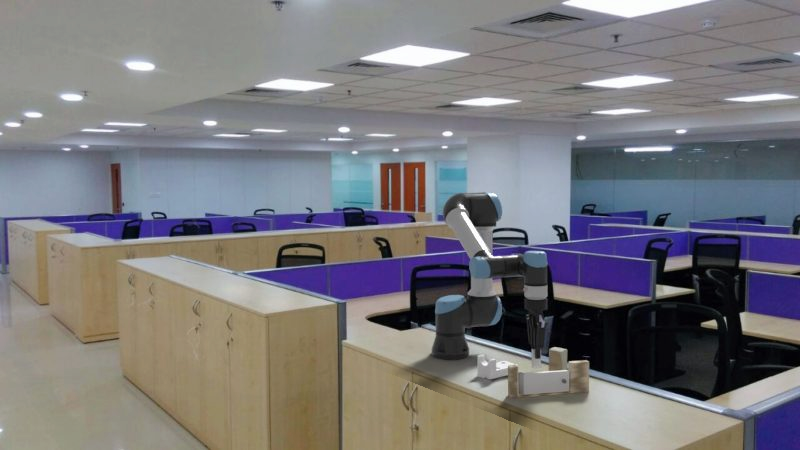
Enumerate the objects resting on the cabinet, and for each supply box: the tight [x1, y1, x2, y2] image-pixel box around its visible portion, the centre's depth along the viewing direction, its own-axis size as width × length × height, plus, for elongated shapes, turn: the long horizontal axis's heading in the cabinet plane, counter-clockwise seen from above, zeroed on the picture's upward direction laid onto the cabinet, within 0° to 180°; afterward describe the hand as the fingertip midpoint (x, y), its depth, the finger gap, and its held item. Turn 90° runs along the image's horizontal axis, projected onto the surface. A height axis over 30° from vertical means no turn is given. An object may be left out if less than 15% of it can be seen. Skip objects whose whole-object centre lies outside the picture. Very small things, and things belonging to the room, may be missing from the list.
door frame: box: [507, 359, 590, 399], centre depth 197 cm, size 27×3×10 cm, turn 99°
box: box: [548, 346, 568, 371], centre depth 210 cm, size 5×4×11 cm
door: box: [518, 369, 569, 395], centre depth 197 cm, size 17×2×7 cm, turn 99°
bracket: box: [476, 354, 519, 380], centre depth 217 cm, size 13×7×8 cm, turn 122°
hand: (536, 367), depth 203 cm, fingers closed
